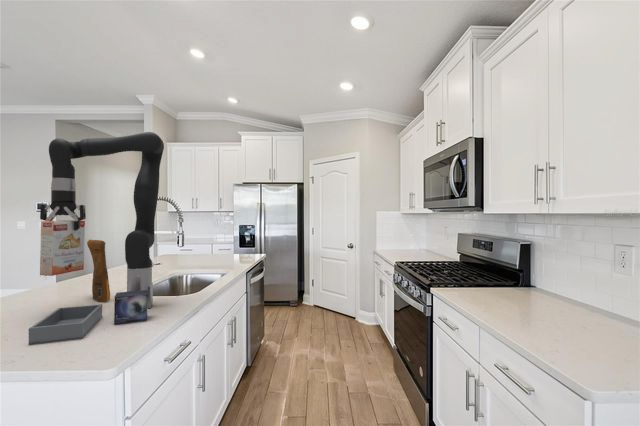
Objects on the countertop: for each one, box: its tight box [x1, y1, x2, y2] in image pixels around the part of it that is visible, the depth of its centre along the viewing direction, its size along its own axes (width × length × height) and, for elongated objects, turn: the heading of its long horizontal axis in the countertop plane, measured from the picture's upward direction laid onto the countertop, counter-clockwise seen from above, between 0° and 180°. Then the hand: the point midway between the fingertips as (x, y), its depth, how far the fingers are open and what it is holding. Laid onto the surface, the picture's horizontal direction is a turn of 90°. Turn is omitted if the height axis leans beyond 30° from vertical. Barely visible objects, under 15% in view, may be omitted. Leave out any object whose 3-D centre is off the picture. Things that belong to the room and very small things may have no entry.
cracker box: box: [39, 219, 86, 277], centre depth 123 cm, size 14×6×21 cm, turn 175°
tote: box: [28, 304, 103, 346], centre depth 107 cm, size 14×22×5 cm, turn 21°
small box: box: [113, 290, 148, 326], centre depth 116 cm, size 11×6×10 cm, turn 117°
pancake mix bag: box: [86, 239, 111, 303], centre depth 144 cm, size 7×19×28 cm, turn 48°
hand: (63, 230), depth 123 cm, fingers closed on cracker box, 8 cm apart
